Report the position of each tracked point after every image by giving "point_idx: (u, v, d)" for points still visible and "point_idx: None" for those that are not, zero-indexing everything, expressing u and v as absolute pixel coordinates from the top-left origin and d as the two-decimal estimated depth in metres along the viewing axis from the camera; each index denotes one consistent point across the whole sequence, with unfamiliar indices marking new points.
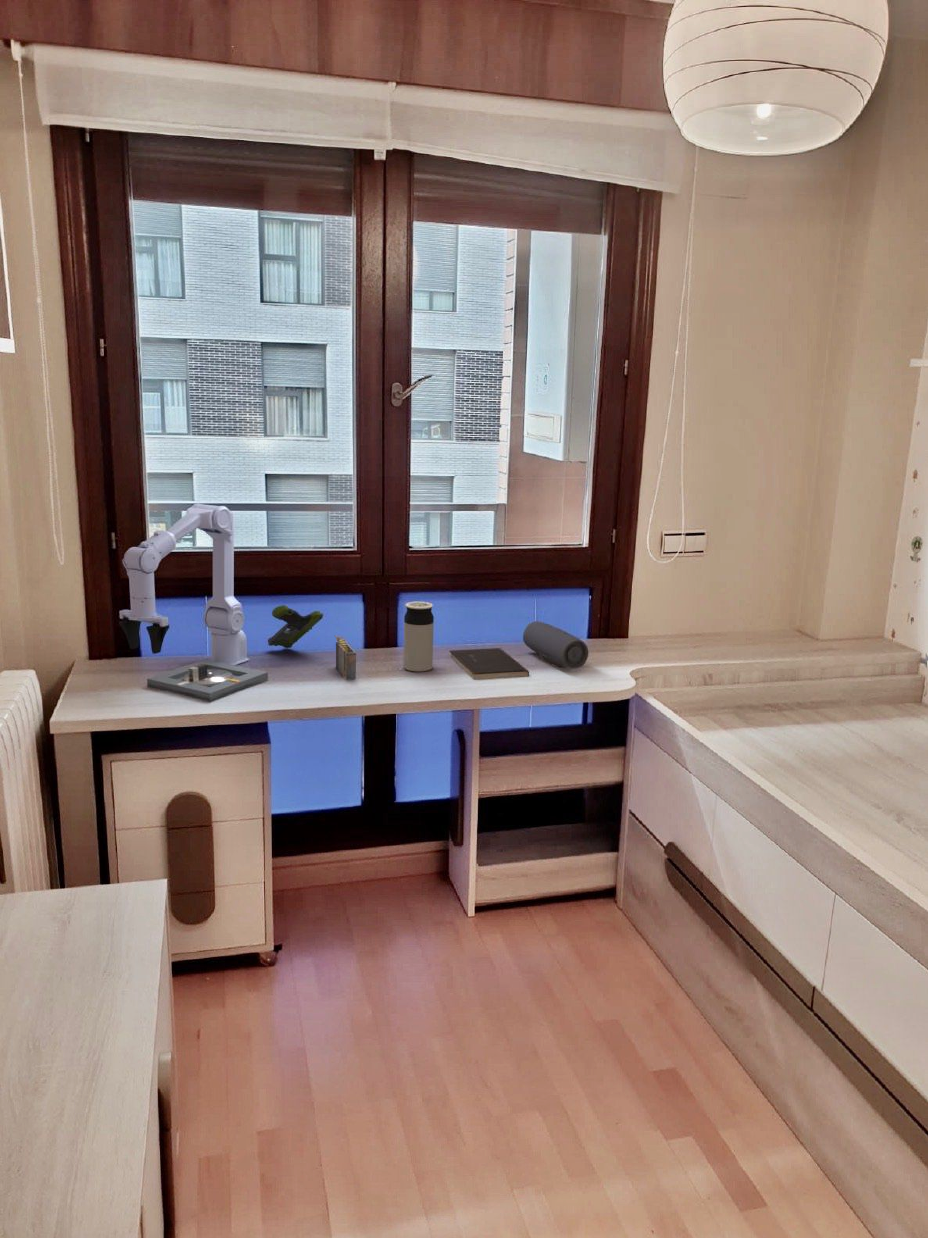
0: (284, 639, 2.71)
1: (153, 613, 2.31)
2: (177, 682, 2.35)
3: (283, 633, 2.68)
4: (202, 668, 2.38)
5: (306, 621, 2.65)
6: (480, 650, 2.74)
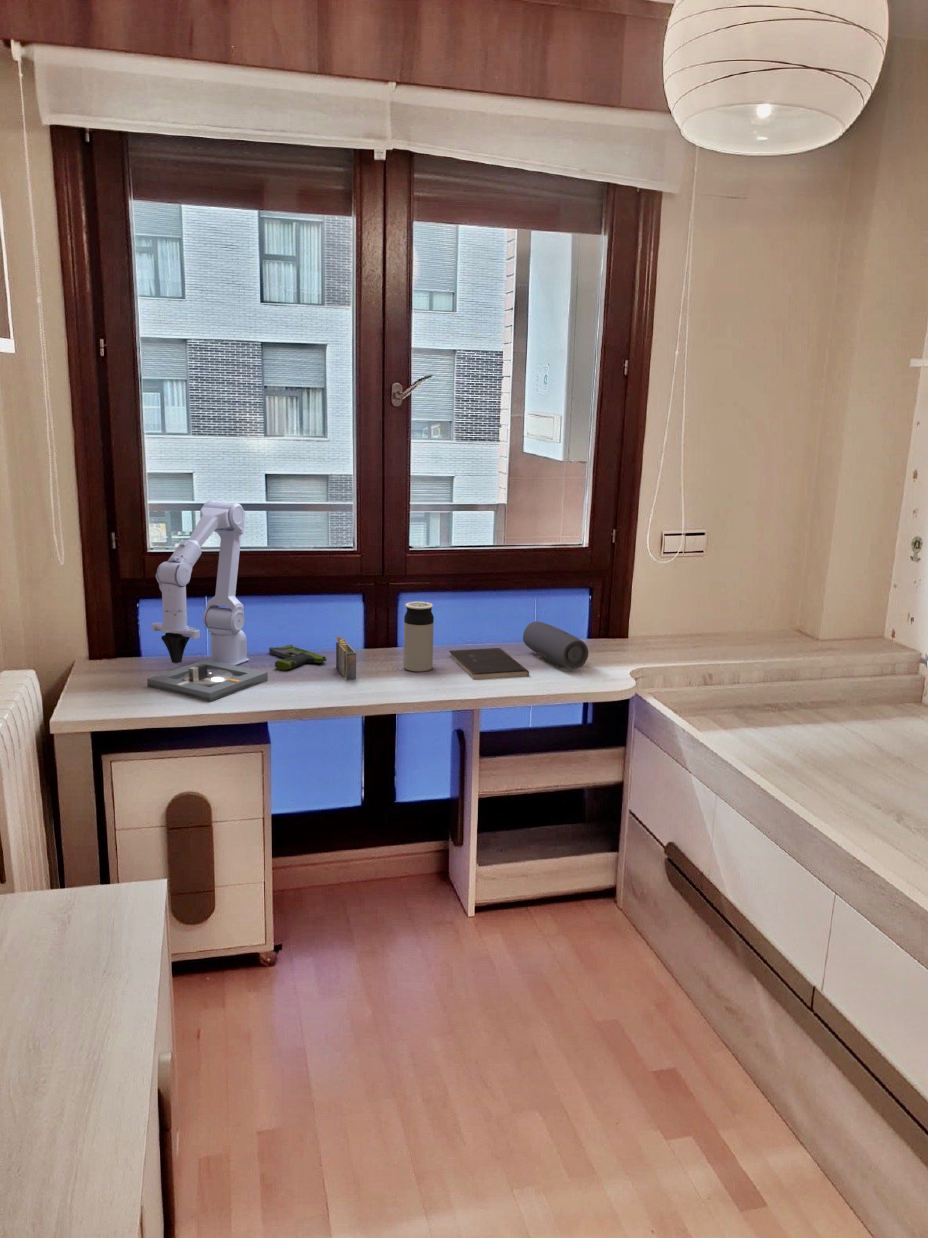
0: None
1: (185, 626, 2.36)
2: (177, 682, 2.35)
3: None
4: (202, 668, 2.38)
5: None
6: (480, 650, 2.74)
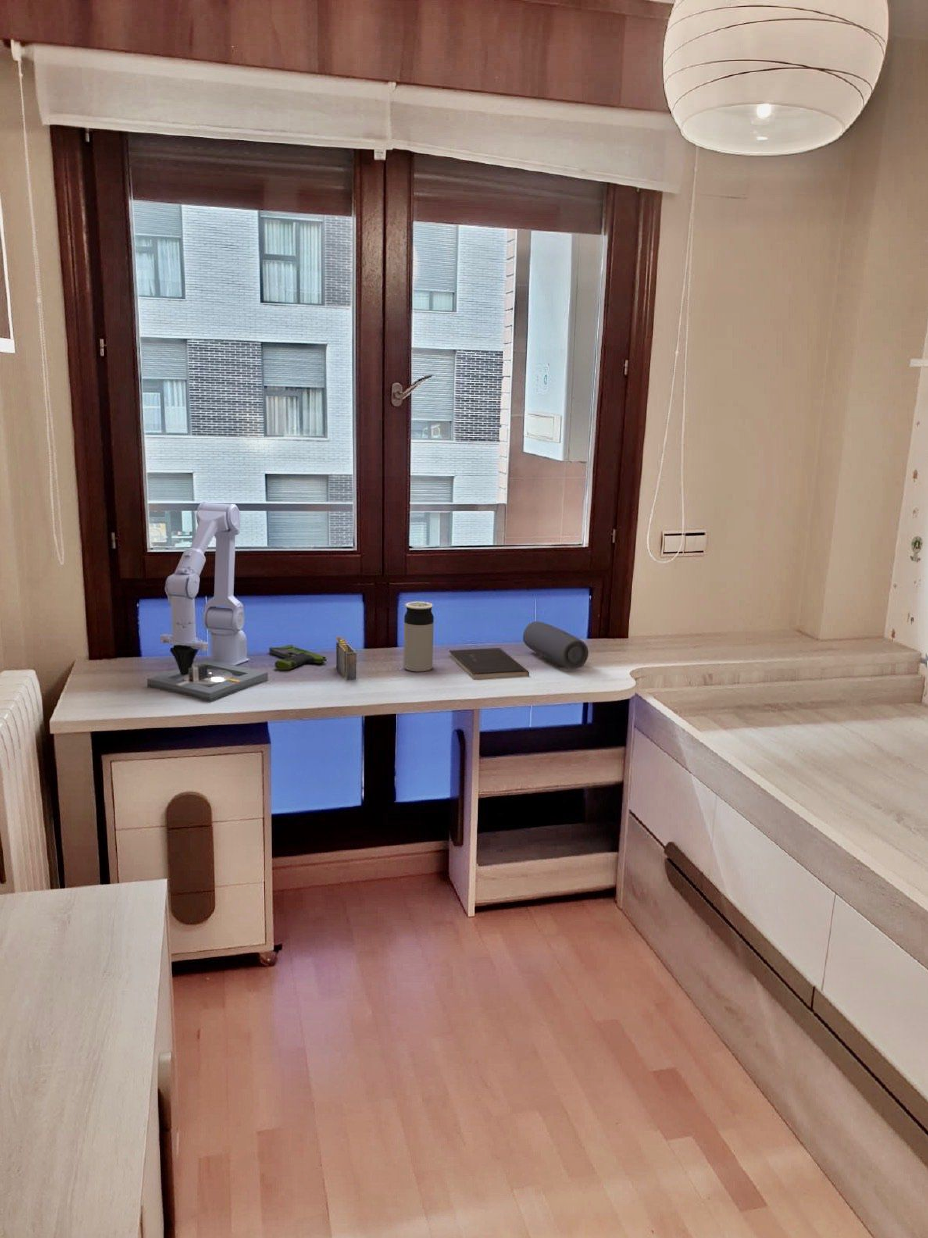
0: None
1: (194, 638, 2.36)
2: (177, 682, 2.35)
3: None
4: (202, 668, 2.38)
5: None
6: (480, 650, 2.74)
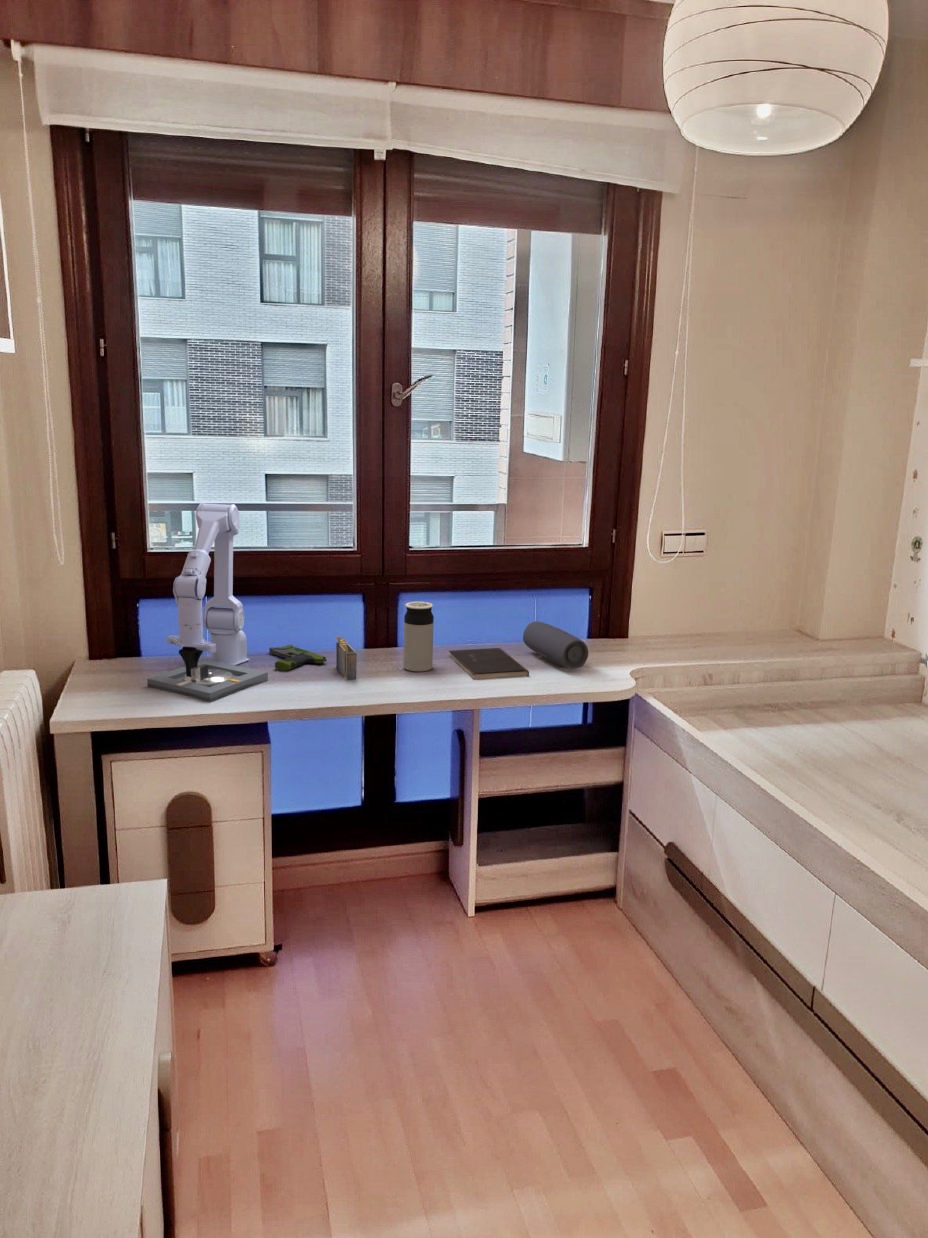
0: None
1: (201, 639, 2.34)
2: (177, 682, 2.35)
3: None
4: (203, 668, 2.38)
5: None
6: (480, 650, 2.74)
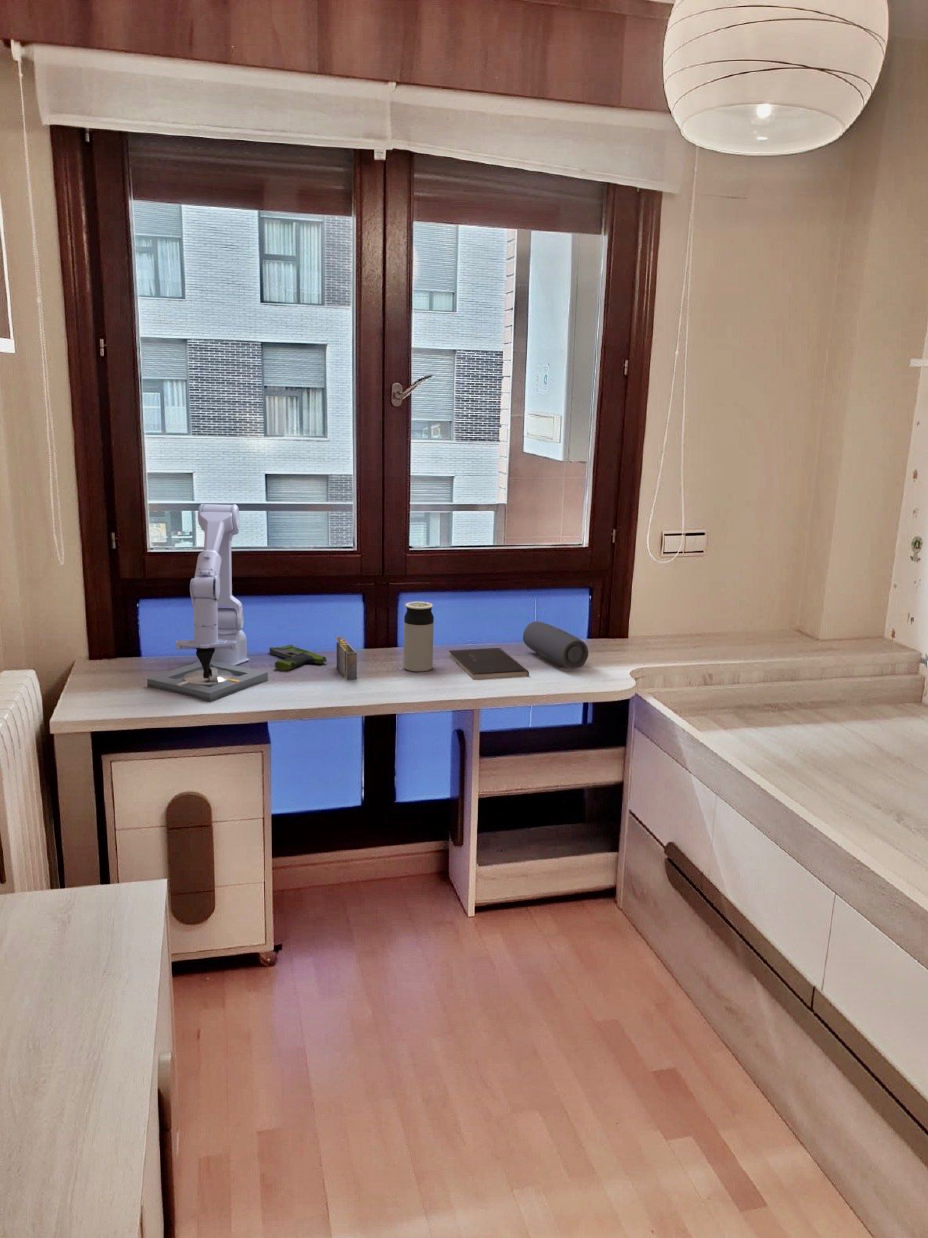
0: None
1: (218, 639, 2.35)
2: (177, 682, 2.35)
3: None
4: None
5: None
6: (480, 650, 2.74)
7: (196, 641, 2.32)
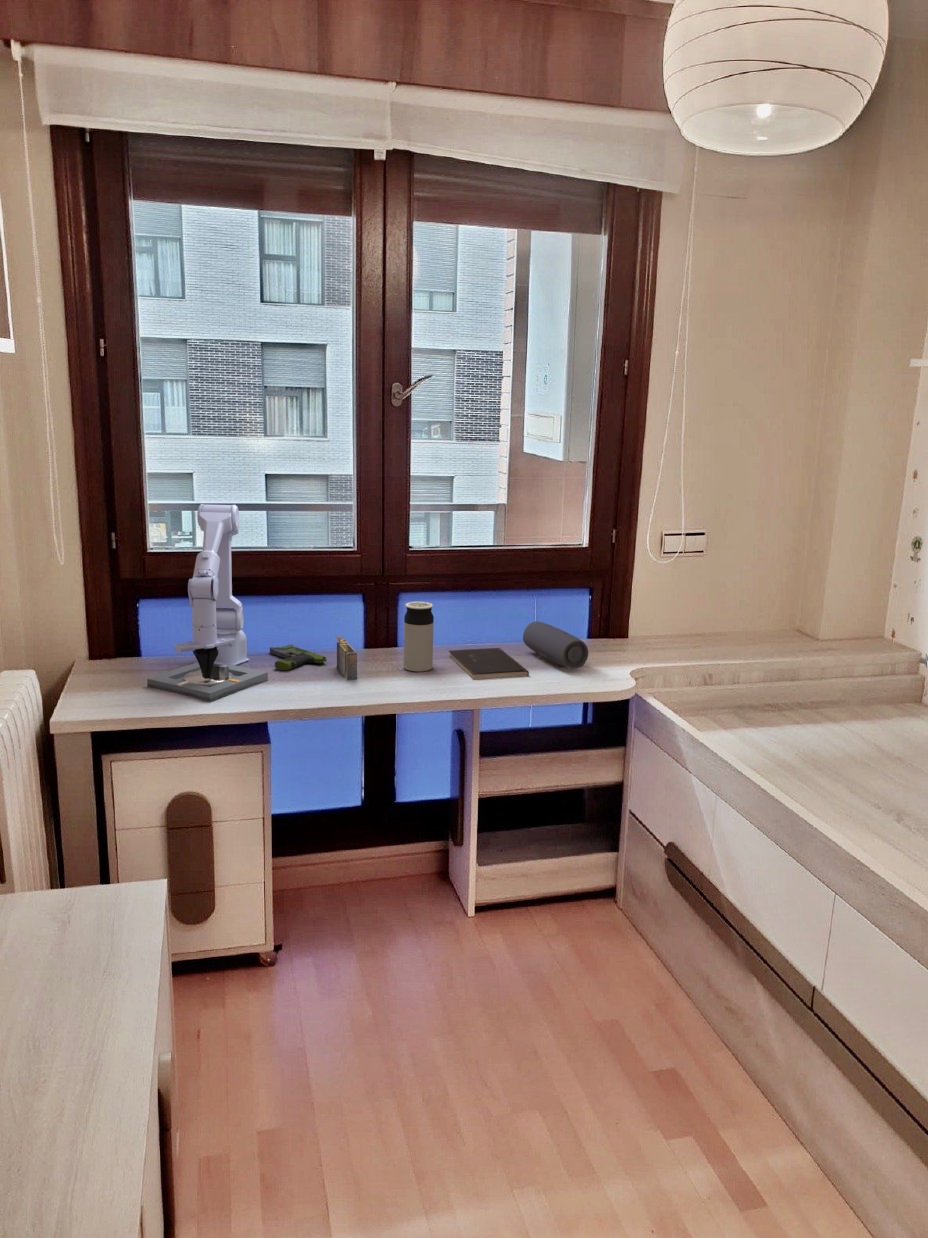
0: None
1: None
2: (177, 682, 2.35)
3: None
4: None
5: None
6: (479, 650, 2.74)
7: (199, 642, 2.32)
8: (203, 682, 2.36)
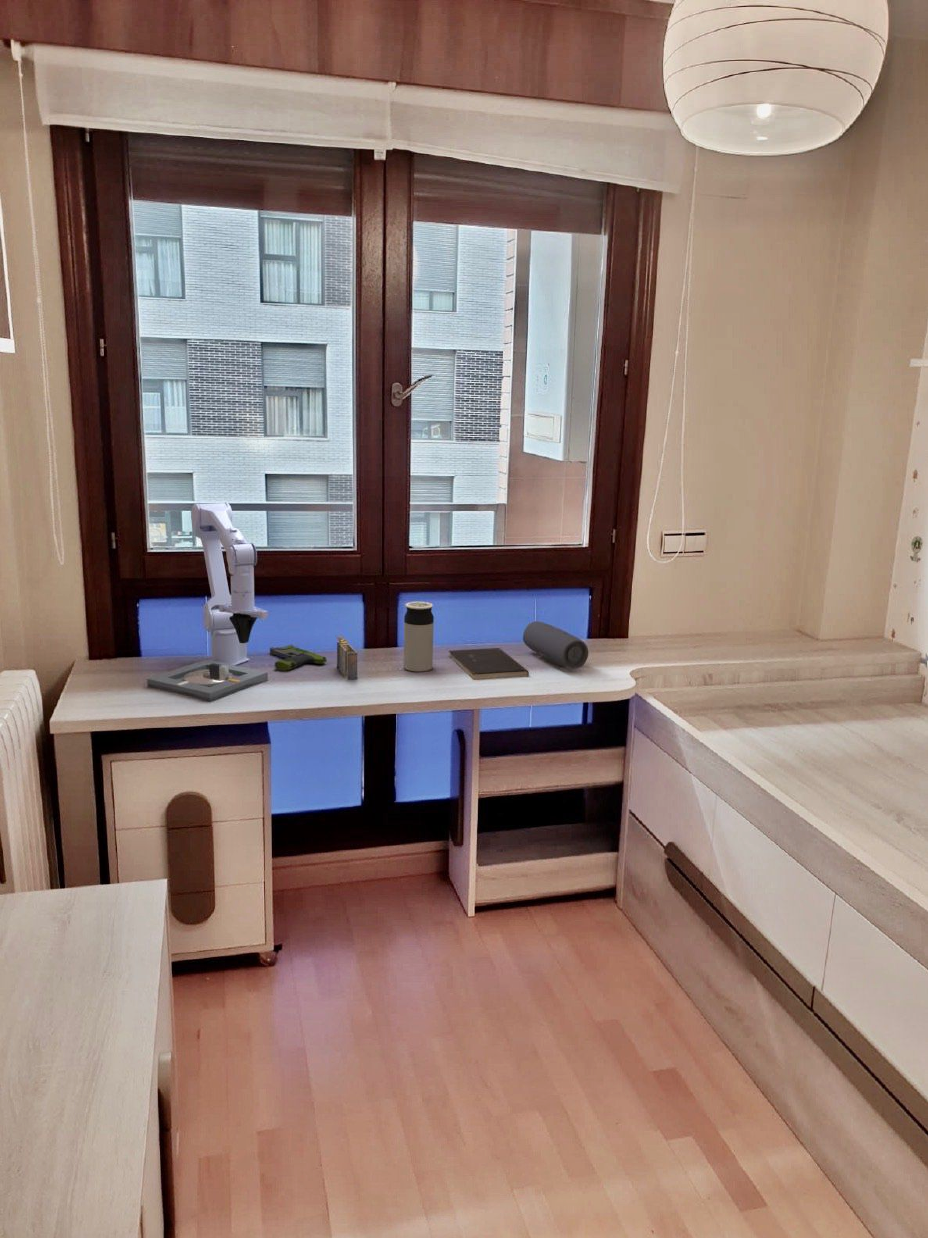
0: None
1: (252, 606, 2.41)
2: (177, 682, 2.35)
3: None
4: None
5: (309, 662, 2.62)
6: (479, 650, 2.74)
7: (231, 606, 2.41)
8: (203, 682, 2.36)
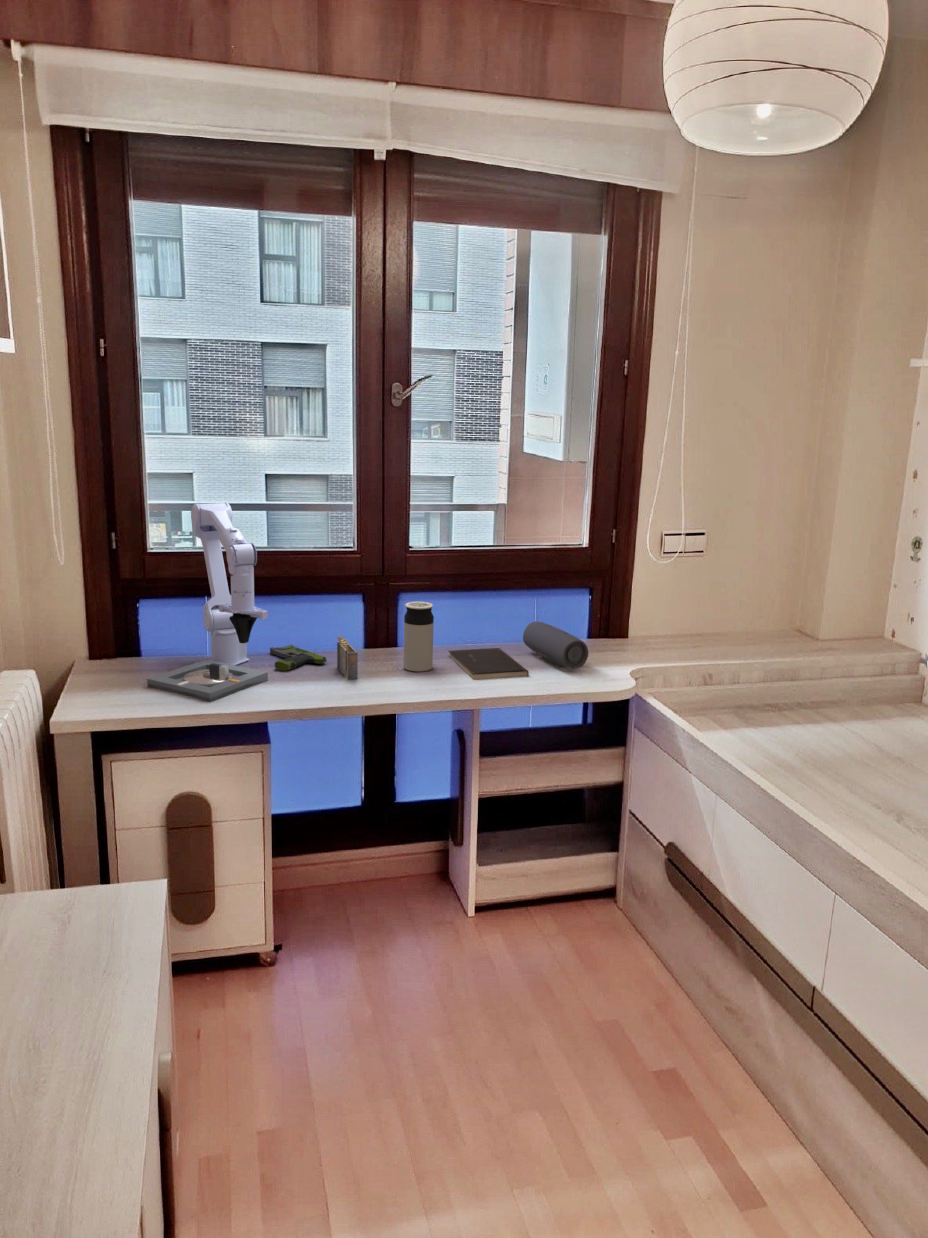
0: None
1: (252, 606, 2.41)
2: (177, 682, 2.35)
3: None
4: None
5: (309, 662, 2.62)
6: (479, 650, 2.74)
7: (231, 606, 2.41)
8: (203, 682, 2.36)
